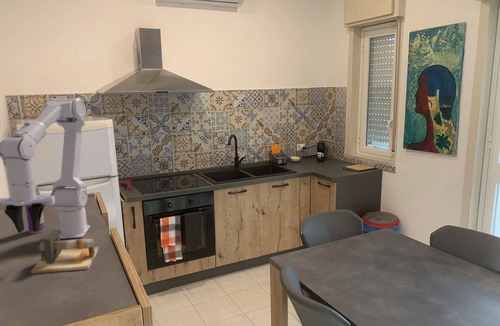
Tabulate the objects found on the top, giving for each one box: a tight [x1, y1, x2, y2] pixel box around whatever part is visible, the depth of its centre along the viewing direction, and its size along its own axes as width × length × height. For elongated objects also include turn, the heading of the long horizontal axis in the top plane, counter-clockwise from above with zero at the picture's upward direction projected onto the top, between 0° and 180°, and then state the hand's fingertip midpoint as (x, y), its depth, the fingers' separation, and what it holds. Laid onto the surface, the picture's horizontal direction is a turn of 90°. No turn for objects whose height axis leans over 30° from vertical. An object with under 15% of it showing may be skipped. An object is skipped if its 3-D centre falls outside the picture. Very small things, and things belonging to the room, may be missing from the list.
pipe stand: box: [31, 238, 100, 275], centre depth 102 cm, size 12×14×6 cm
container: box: [24, 185, 46, 234], centre depth 122 cm, size 5×5×15 cm
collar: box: [42, 229, 61, 263], centre depth 102 cm, size 7×2×7 cm, turn 9°
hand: (28, 230), depth 100 cm, fingers open, 3 cm apart
